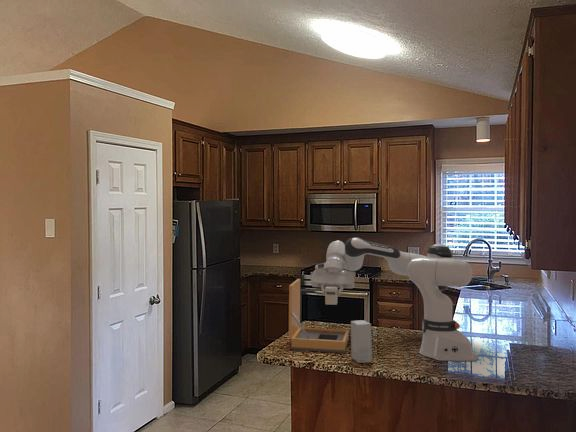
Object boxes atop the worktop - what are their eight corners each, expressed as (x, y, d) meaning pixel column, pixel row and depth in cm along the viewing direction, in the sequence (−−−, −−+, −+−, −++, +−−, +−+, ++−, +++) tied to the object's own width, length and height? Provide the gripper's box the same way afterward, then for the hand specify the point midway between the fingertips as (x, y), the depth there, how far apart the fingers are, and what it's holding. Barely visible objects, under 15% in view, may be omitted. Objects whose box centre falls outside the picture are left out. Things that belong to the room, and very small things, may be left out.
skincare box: (372, 362, 197) (372, 324, 197) (357, 363, 196) (357, 324, 196) (364, 356, 205) (364, 319, 205) (349, 357, 204) (350, 319, 204)
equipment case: (348, 340, 230) (349, 280, 229) (344, 352, 210) (345, 287, 209) (297, 337, 234) (297, 278, 233) (288, 349, 214) (289, 285, 214)
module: (337, 302, 238) (337, 286, 238) (336, 304, 233) (336, 288, 233) (326, 302, 239) (326, 286, 239) (325, 304, 234) (325, 287, 234)
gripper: (356, 274, 245) (354, 299, 236) (313, 273, 249) (310, 297, 240) (355, 266, 241) (353, 291, 231) (312, 265, 245) (308, 289, 235)
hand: (331, 294), depth 236 cm, fingers closed on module, 5 cm apart
